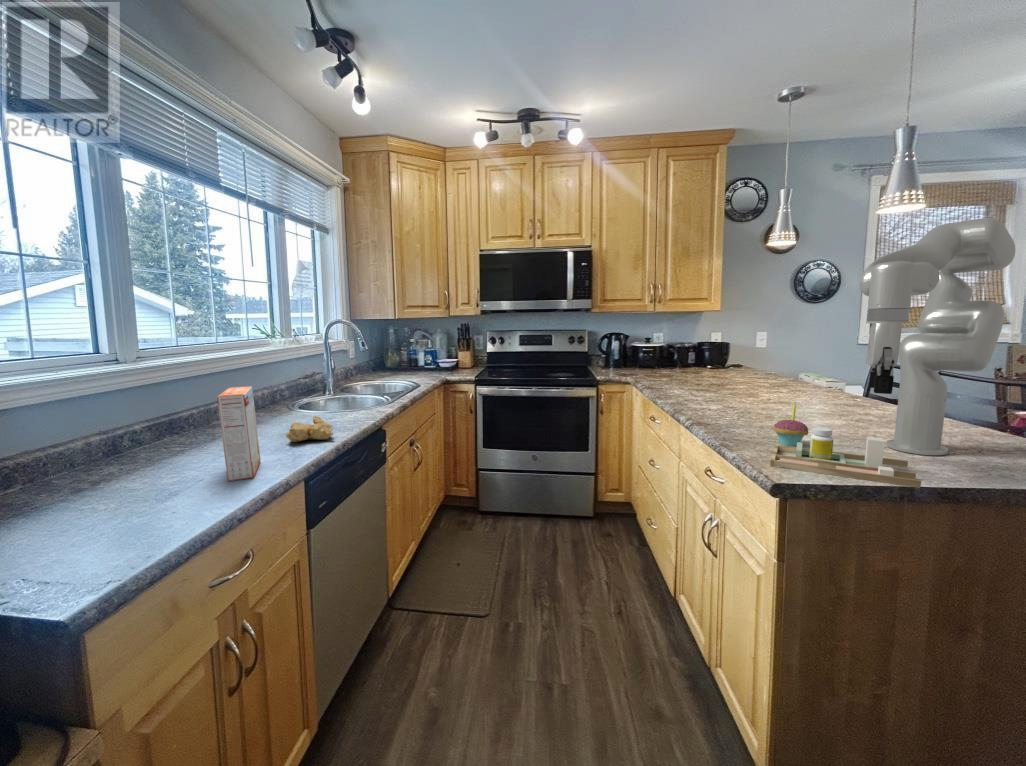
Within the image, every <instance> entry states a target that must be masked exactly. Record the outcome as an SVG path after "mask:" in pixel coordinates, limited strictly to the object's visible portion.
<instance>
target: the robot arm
mask: <svg viewBox="0 0 1026 766" xmlns="http://www.w3.org/2000/svg"><path fill="white" fill-rule="evenodd" d="M1015 255H1016V244H1015V241H1014V238H1012V236H1011V234H1010V232H1009V230H1008V228H1007V227H1006V226H1005V225H1004V224H1003V222H1001V221H1000V220H998V219H996V218H992V217H982V218H976V219H974V218H973V219H969V220H962V221H961V220H960V221H955V222H948V223H944V224H940V225H937V226H935V227H933V228H931V229H930V230H929V231H928V232H927V233H926V234H925V235H923V236H922V237H921V238H920V239H919V240H918V241H917V242H916V243H915V244H911V245H909V246H906V247H904V248H901V249H898V250H895V251H893V252H890V253H888V254H885V255H882V256H880V257H879V258H877V259H875V260H873V261H872V262H871V263H870V264H869V265H868V266H867V267H866V268H865V269H864V271H863V272H862V273H861V276H860V279H859V289H860V292H861V293H862V294H863V295H864V296H866V297H868V300H867V301H868V303H867V309H866V310H867V312H866V324H871V326H870V331H869V335H868V336H869V337H868V344H867V345H868V346H867V351H866V358H865V359H866V360H865V363H866V364H867V365H868V366H870V367H871V371H870V373H869V383H868V387H869V388H870V389H873V393H874V394H883V395H884V394H886V395H891V394H892V393H893V388H894V379H895V376H894V367H896V366H897V364H898V361H899V366H900V367H899V368H900V369H899V370H900V373H899V374H900V375H899V377H900V378H899V389H898V390H899V391H898V398H897V399H898V400H897V409H896V417H895V427H894V436H893V438H892V439H888V440H887V441H886V442H885V445H886V446H887V448H890V449H893V450H895V451H899V452H904V453H908V454H909V453H910V454H916V455H923V456H944V455H948V454H949V449H948V447H947V446H944V445H942V439H943V430H944V421H945V420H944V419H945V416H946V415H945V414H946V413H945V412H946V407H947V405H946V404H947V399H948V397H947V396H948V385H947V383H946V381H945V379H944V378H943V377H942V375H941V374H940V373H939V372H938V371H949V372H950V371H951V372H954V371H955V372H968V373H969V372H972V373H974V372H975V373H976V372H981V371H983V370H984V369H985V368H987V367H988V366H989V364H990V362H991V360H992V357H993V354H994V351H995V348H996V346H997V343H998V341H999V338H1000V335H1001V332H1002V329H1003V326H1004V322H1005V321H1004V320H1005V312H1004V311H1005V310H1004V308H1003V306H1002V305H1001V304H1000V303H998V302H997V301H993V300H985V299H984V300H979V299H978V300H971V298H972V296H973V290H972V288H971V286H970V285H969V284H968V283H967V282H966V281H964V280H963V279H962V278H960V277H959V276H957V275H956V274H959V273H960V274H961V273H970V272H971V273H973V272H985V271H986V272H987V271H997V270H998V271H999V270H1002V269H1005V268H1007V267H1008V266H1009V265H1011V264H1012V262H1013V260H1014V258H1015ZM925 294H928V297H927V299H926V301H925V304H924V306H923V309H922V311H921V314H920V316H919V319H918V322H917V328H918V331H919V333H913V334H909V335H908V336H906V337H904V338H903V339H902V340H901V335H902V326H903V324H909V323H910V322H909V321H910V314H911V313H910V312H911V303H912V296H921V295H925ZM898 359H899V360H898Z"/></svg>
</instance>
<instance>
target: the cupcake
mask: <svg viewBox="0 0 1026 766" xmlns="http://www.w3.org/2000/svg"><path fill="white" fill-rule="evenodd" d="M796 410H797V405H796V404H794V405H793V406H792V414H791V419H782V420H780V421H778V422H776V423H775V424H774V425H773V431H774V433H776V435H777V437H778V440H779V443H780V445H782V444H784V445H783V446H786V445H789V446H790V447H797V442H801V443H802V440H803V438H804V436H808V434H809V427H808V425H806V424H805V423H803V422H801V421H799V420H795V417H796Z"/></svg>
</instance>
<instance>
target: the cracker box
mask: <svg viewBox="0 0 1026 766" xmlns="http://www.w3.org/2000/svg"><path fill="white" fill-rule="evenodd" d="M216 399H217V407H218V414H219V415H218V416H219V421H220V431H221V437H222V439H221V440H222V446H223V447H222V448H223V452H224V453H223V454H224V462H225V469H226V478H227V482H235V481H241V480H246V479H247V480H248V479H254V478H255V477H256V473H257V471H258V468H259V466H260V464H261V452H260V444H259V436H258V426H257V417H256V409H255V408H256V406H255V399H254V390H253V386H232V387H229V388H228V387H227V388H226V389H225V390H224V391H223V392H221V393H220V394H219V395H217V397H216Z"/></svg>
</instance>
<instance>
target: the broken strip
mask: <svg viewBox="0 0 1026 766" xmlns="http://www.w3.org/2000/svg"><path fill="white" fill-rule="evenodd" d="M780 461H784V462H791V463H798V464H806V465H813V466H818V463H814V462H806V461H799V460H791V459H784V458H780ZM836 469H842V470H849V471H857V472H864V473H871V474H878V475H886V476H894V470H895V469H893V467H890V466H889V467H888V466H883V465H882V466H878V471H873V470H866V469H858V468H851V467H843V466H836Z"/></svg>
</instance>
